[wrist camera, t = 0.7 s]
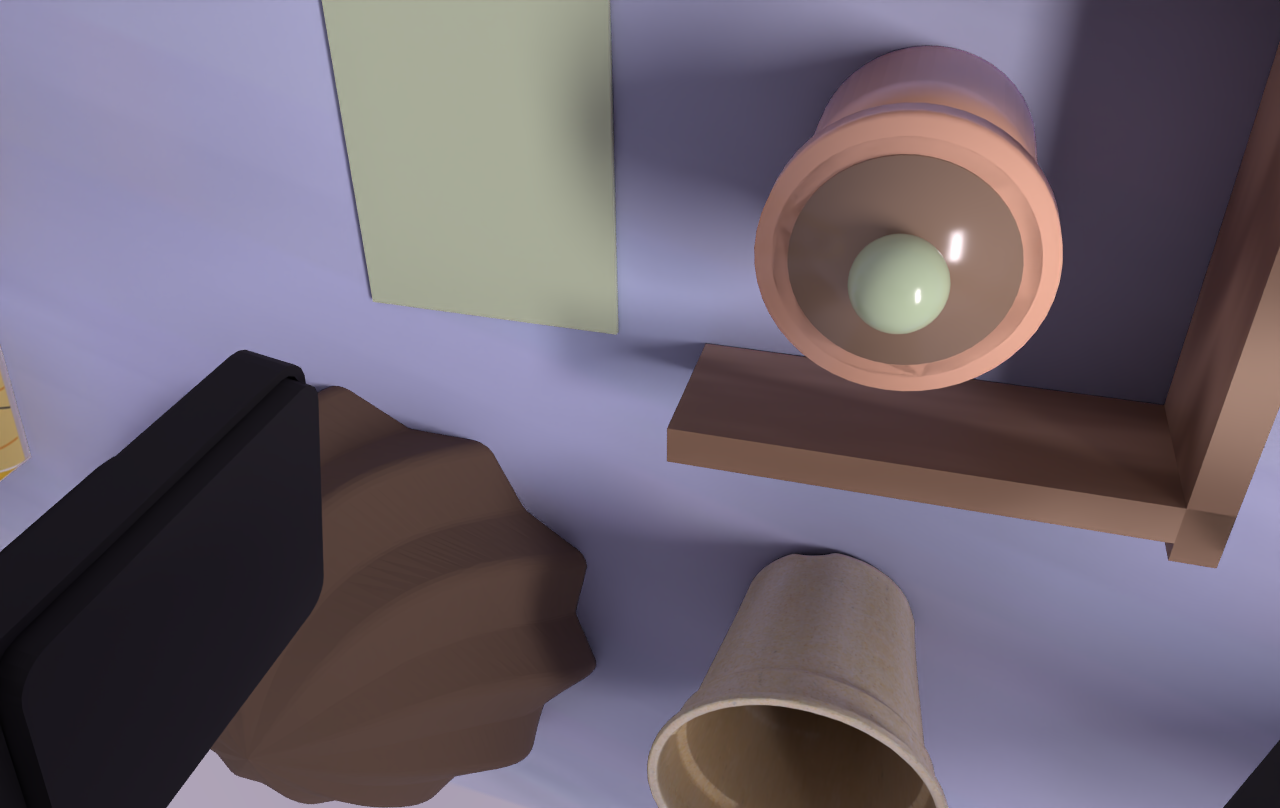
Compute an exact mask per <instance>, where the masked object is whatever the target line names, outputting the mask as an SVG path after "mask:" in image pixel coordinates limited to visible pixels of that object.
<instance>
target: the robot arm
mask: <svg viewBox="0 0 1280 808" xmlns="http://www.w3.org/2000/svg"><path fill="white" fill-rule="evenodd" d="M323 581H324V564H323V531H322V498H321V466H320V433H319V400H318V393H317V391H316V389H315V387H313V386H311V385H308V384H306V382H305V375H304V373H303V371H302V369H301V368H300V367H298V366H296V365H293V364H290V363H287V362H284V361H280V360H277V359H274V358H271V357H267V356H264V355H261V354H258V353H254V352H251V351H248V350H241V351H237V352H236V353H234V354H233V355H231V356H230V357H229V358H227V359H226V360H225V361H224V362H223V363H222V364H221V365H219V366H218V367H217V368H216V369H215V370H214V371H213V372H211V373H210V374H209V375H208V376H207V377H206V378H205V379H203V380H202V381H201V382H200V383H199V384H198V385H197V386H195V387H194V388H193V389H192V390H191V391H190V392H188V393H187V394H186V395H185V396H184V397H183V398H182V399H180V400H179V401H178V402H177V403H176V404H175V405H174V406H172V407H171V408H170V409H169V410H168V411H167V412H166V413H164V414H163V415H162V416H161V417H160V418H159V419H157V420H156V421H155V422H154V423H153V424H152V425H151V426H149V427H148V428H147V429H146V430H145V431H144V432H143V433H141V434H140V435H139V436H138V437H137V438H136V439H135V440H133V441H132V442H131V443H130V444H129V445H128V446H127V447H125V448H124V449H123V450H122V451H121V452H120V453H118V454H117V455H116V456H115V457H112V458H111V459H109V460H108V461H106V462H105V463H103V464H102V465H100V466H99V467H98V468H96V469H95V470H94V471H93V472H92V473H91V474H90V475H88V476H87V477H86V478H85V479H84V480H83V481H81V482H80V483H79V484H78V485H77V486H76V487H75V488H73V489H72V490H71V491H70V492H69V493H68V494H66V495H65V496H64V497H63V498H62V499H61V500H60V501H58V502H57V503H56V504H55V505H54V506H53V507H52V508H50V509H49V510H48V511H47V512H46V513H45V514H43V515H42V516H41V517H40V518H39V519H38V520H37V521H35V522H34V523H33V524H32V525H31V526H30V527H28V528H27V529H26V530H25V531H24V532H23V533H22V534H20V535H19V536H18V537H17V538H16V539H15V540H13V541H12V542H11V543H10V544H9V545H8V546H7V547H5V548H4V549H3V550H2V551H1V552H0V808H166V807H167V806H168V805H169V803H170V802H171V801H172V799H173V798H174V796H175V795H176V794H177V793H178V791H179V790H180V789H181V787H182V786H183V785H184V783H185V782H186V781H187V779H188V778H189V776H190V775H191V774H192V772H193V771H194V770H195V768H196V767H197V766H198V764H199V763H200V762H201V760H202V759H203V758H204V756H205V755H206V754H207V752H208V751H209V750H210V748H211V747H212V746H213V744H214V743H215V742H216V740H217V739H218V738H219V736H220V735H221V734H222V732H223V731H224V729H225V728H226V727H227V725H228V724H229V723H230V721H231V720H232V719H233V717H234V716H235V715H236V713H237V712H238V711H239V709H240V708H241V707H242V705H243V704H244V703H245V701H246V700H247V699H248V697H249V696H250V695H251V693H252V692H253V691H254V689H255V688H256V687H257V685H258V684H259V683H260V681H261V680H262V678H263V677H264V676H265V674H266V673H267V672H268V670H269V669H270V668H271V666H272V665H273V664H274V662H275V661H276V660H277V658H278V657H279V656H280V654H281V653H282V652H283V650H284V649H285V648H286V646H287V645H288V644H289V642H290V641H291V640H292V638H293V637H294V636H295V634H296V633H297V631H298V630H299V629H300V627H301V626H302V625H303V623H304V622H305V621H306V619H307V618H308V617H309V615H310V614H311V612H312V611H313V609H314V608H315V606H316V604H317V601H318V599H319V597H320V594H321V591H322V586H323ZM1223 808H1280V740H1279V742H1278V743H1277V744H1276V745H1275V746H1274V748H1273V749H1272V750H1271V751H1270V752H1269V754H1268V755H1267V756H1266V757H1265V758H1264V759H1263V761H1262V762H1261V763H1260V764H1259V765H1258V767H1257V768H1256V769H1255V770H1254V771H1253V773H1252V774H1251V775H1250V776H1249V777H1248V779H1247V780H1246V781H1245V782H1244V783H1243V785H1242V786H1241V787H1240V788H1239V789H1238V791H1237V792H1236V793H1235V794H1234V795H1233V797H1232V798H1231V799H1230V800H1229V801H1228V803H1227V804H1226V805H1225V806H1224V807H1223Z"/></svg>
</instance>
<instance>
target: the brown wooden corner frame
mask: <svg viewBox="0 0 1280 808" xmlns="http://www.w3.org/2000/svg"><path fill="white" fill-rule="evenodd" d="M1279 407H1280V42H1279V45H1278V49H1277V52H1276V55H1275V58H1274V61H1273V64H1272V67H1271V71H1270V74H1269V77H1268V80H1267V83H1266V86H1265V89H1264V93H1263V96H1262V99H1261V102H1260V105H1259V108H1258V111H1257V115H1256V118H1255V121H1254V124H1253V127H1252V130H1251V133H1250V137H1249V140H1248V143H1247V146H1246V149H1245V152H1244V156H1243V159H1242V162H1241V165H1240V168H1239V171H1238V174H1237V178H1236V181H1235V184H1234V187H1233V190H1232V193H1231V196H1230V200H1229V203H1228V206H1227V209H1226V212H1225V215H1224V218H1223V222H1222V225H1221V228H1220V231H1219V234H1218V237H1217V240H1216V244H1215V247H1214V250H1213V253H1212V256H1211V259H1210V262H1209V266H1208V269H1207V272H1206V275H1205V278H1204V281H1203V285H1202V288H1201V291H1200V294H1199V297H1198V300H1197V303H1196V307H1195V310H1194V313H1193V316H1192V319H1191V322H1190V325H1189V329H1188V332H1187V335H1186V338H1185V341H1184V344H1183V347H1182V351H1181V354H1180V357H1179V360H1178V363H1177V366H1176V369H1175V373H1174V376H1173V379H1172V382H1171V385H1170V388H1169V391H1168V395H1167V398H1166V401H1165V404H1164V405H1159V404H1152V403H1144V402H1137V401H1129V400H1122V399H1115V398H1107V397H1100V396H1092V395H1085V394H1077V393H1070V392H1063V391H1055V390H1048V389H1040V388H1033V387H1025V386H1018V385H1011V384H1003V383H996V382H988V381H981V380H973V379H970V380H968V381H965V382H962V383H960V384H956V385H952V386H948V387H944V388H939V389H931V390H924V391H895V390H884V389H879V388H874V387H869V386H865V385H861V384H858V383H855V382H852V381H849V380H846V379H844V378H842V377H839V376H837V375H835V374H833V373H831V372H829V371H827V370H826V369H824V368H822V367H820V366H819V365H817V364H815V363H814V362H813V361H811V360H810V359H809V358H807V357H802V356H795V355H787V354H780V353H773V352H765V351H758V350H750V349H743V348H735V347H728V346H721V345H713V344H705V346H704V349H703V351H702V353H701V355H700V357H699V360H698V362H697V364H696V366H695V368H694V371H693V373H692V375H691V377H690V379H689V382H688V384H687V386H686V388H685V390H684V393H683V395H682V397H681V399H680V401H679V404H678V406H677V408H676V410H675V412H674V415H673V417H672V419H671V421H670V423H669V426H668V428H667V461H668V462H674V463H681V464H687V465H693V466H699V467H705V468H711V469H718V470H724V471H730V472H736V473H742V474H748V475H755V476H761V477H767V478H773V479H779V480H785V481H792V482H798V483H804V484H810V485H816V486H822V487H829V488H835V489H841V490H847V491H853V492H859V493H866V494H872V495H878V496H884V497H890V498H896V499H902V500H909V501H915V502H921V503H927V504H933V505H939V506H946V507H952V508H958V509H964V510H970V511H976V512H983V513H989V514H995V515H1001V516H1007V517H1013V518H1020V519H1026V520H1032V521H1038V522H1044V523H1050V524H1057V525H1063V526H1069V527H1075V528H1081V529H1087V530H1094V531H1100V532H1106V533H1112V534H1118V535H1124V536H1131V537H1137V538H1143V539H1149V540H1155V541H1161V542H1165V545H1166V551H1167V556H1168V560H1169V561H1175V562H1181V563H1187V564H1193V565H1199V566H1205V567H1211V568H1217V566H1218V563H1219V561H1220V558H1221V556H1222V553H1223V550H1224V548H1225V545H1226V543H1227V540H1228V538H1229V535H1230V533H1231V530H1232V527H1233V525H1234V522H1235V520H1236V517H1237V515H1238V512H1239V510H1240V507H1241V504H1242V502H1243V499H1244V497H1245V494H1246V492H1247V489H1248V487H1249V484H1250V481H1251V479H1252V476H1253V474H1254V471H1255V469H1256V466H1257V464H1258V461H1259V458H1260V456H1261V453H1262V451H1263V448H1264V446H1265V443H1266V441H1267V438H1268V435H1269V433H1270V430H1271V428H1272V425H1273V423H1274V420H1275V417H1276V415H1277V412H1278V410H1279Z"/></svg>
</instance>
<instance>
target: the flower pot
mask: <svg viewBox="0 0 1280 808" xmlns="http://www.w3.org/2000/svg"><path fill="white" fill-rule="evenodd" d="M647 774H648V782H649V786H650V790H651V793H652V795H653V798H654V800H655V802H656V803H657V805H658V808H948V805H947V801H946V798H945V795H944V793H943V790H942V788H941V786H940V784H939V782H938V780H937V779H936V777H935V774H934V769H933V764H932V762H931V759H930V756H929V754H928V752H927V750H926V748H925V746H924V739H923V729H922V719H921V709H920V699H919V688H918V677H917V665H916V652H915V624H914V619H913V615H912V612H911V609H910V606H909V603H908V601H907V599H906V597H905V595H904V594H903V592H902V591H901V589H900V588H899V587H898V586H897V585H896V584H895V583H894V582H893V581H892V580H891V579H890V578H889V577H888V576H886V575H885V574H884V573H882V572H881V571H880V570H878V569H876V568H875V567H873V566H871V565H869V564H867V563H865V562H863V561H861V560H858V559H855V558H853V557H850V556H846V555H843V554H839V553H832V554H829V555H817V556H808V555H800V554H790V555H788V556H785V557H782V558H780V559H778V560H776V561H774V562H772V563H770V564H769V565H767V566H766V567H765V568H763V569H762V570H761V571H760V572H759V573H758V574H757V575H756V577H755V578H754V579H753V581H752V582H751V584H750V586H749V588H748V591H747V593H746V595H745V597H744V599H743V602H742V604H741V606H740V608H739V610H738V612H737V614H736V616H735V618H734V620H733V622H732V624H731V626H730V628H729V630H728V632H727V634H726V636H725V638H724V640H723V642H722V644H721V646H720V648H719V650H718V652H717V654H716V656H715V658H714V660H713V662H712V664H711V666H710V668H709V670H708V672H707V674H706V676H705V678H704V680H703V682H702V684H701V686H700V688H699V690H698V691H697V692H695V693H694V694H693V695H692V696H691V697H690V698H689V699H688V700H687V701H686V702H685V704H684V705H683V707H682V708H681V710H680V712H678V713H677V714H676V715H674V716H673V717H672V718H671V719H670V720H669V721H668V722H667V723H666V724H665V725H664V726H663V727H662V729H661V730H660V731H659V733H658V734H657V736H656V738H655V740H654V742H653V744H652V747H651V750H650V752H649V756H648V764H647Z"/></svg>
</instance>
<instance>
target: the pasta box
mask: <svg viewBox="0 0 1280 808" xmlns="http://www.w3.org/2000/svg"><path fill="white" fill-rule="evenodd" d="M30 458H31V454H30V450H29V446H28V443H27V439H26V436H25V432H24V428H23V425H22V421H21V418H20V414H19V410H18V407H17V403H16V400H15V396H14V392H13V389H12V385H11V382H10V378H9V374H8V371H7V367H6V364H5V360H4V356H3V353H2V349H1V346H0V482H1V481H2V480H3V479H4V478H6V477H7V476H8V475H9V474H11V473H12V472H13V471H15V470H16V469H17V468H18V467H20V466H21V465H22V464H23V463H25V462H26V461H27V460H28V459H30Z"/></svg>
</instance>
